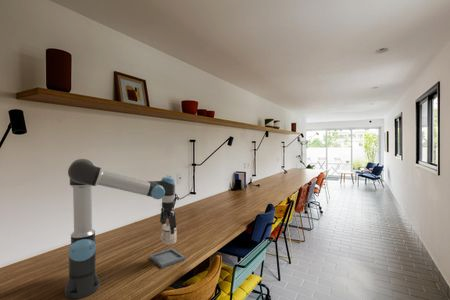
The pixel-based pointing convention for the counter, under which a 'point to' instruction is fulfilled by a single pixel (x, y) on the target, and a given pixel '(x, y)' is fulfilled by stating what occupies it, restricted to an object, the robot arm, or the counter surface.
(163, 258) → the cup tray
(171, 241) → the teacup with lid
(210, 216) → the counter surface
